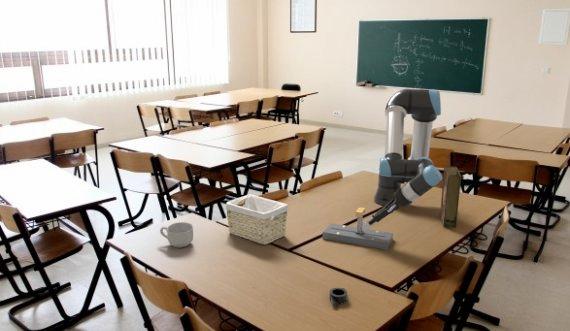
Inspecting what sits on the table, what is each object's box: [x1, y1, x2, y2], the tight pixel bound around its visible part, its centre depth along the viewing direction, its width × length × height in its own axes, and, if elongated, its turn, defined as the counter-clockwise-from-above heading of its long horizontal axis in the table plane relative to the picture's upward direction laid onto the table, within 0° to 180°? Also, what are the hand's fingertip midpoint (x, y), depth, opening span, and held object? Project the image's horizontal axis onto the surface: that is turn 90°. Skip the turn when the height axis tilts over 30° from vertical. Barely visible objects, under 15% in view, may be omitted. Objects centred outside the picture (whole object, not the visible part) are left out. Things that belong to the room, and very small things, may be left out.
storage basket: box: [225, 193, 289, 245], centre depth 208 cm, size 24×16×15 cm
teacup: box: [159, 221, 194, 249], centre depth 198 cm, size 14×11×8 cm
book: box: [439, 165, 462, 229], centre depth 221 cm, size 16×6×25 cm, turn 168°
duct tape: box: [329, 287, 348, 307], centre depth 157 cm, size 8×10×3 cm
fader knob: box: [354, 207, 366, 234], centre depth 202 cm, size 3×6×10 cm, turn 156°
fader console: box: [322, 223, 394, 250], centre depth 204 cm, size 28×11×3 cm, turn 67°
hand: (364, 227), depth 202 cm, fingers closed
